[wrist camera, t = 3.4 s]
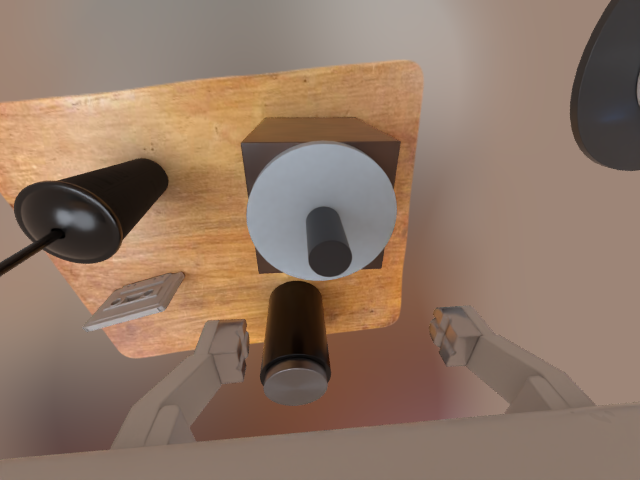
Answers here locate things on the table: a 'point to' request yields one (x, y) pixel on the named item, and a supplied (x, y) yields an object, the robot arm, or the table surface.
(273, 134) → the riser
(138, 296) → the cassette
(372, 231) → the lid
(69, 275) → the table surface
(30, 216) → the drinking cup
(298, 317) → the thermos
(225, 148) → the table surface
